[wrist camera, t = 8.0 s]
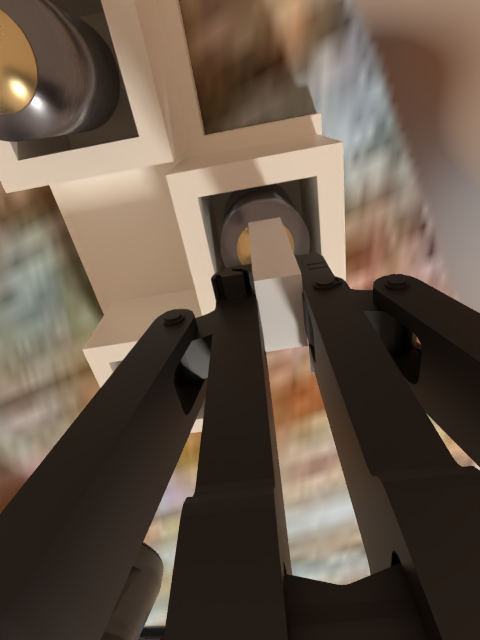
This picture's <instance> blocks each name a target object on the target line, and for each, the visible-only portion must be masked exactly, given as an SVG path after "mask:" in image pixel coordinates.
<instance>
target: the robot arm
mask: <svg viewBox="0 0 480 640" xmlns="http://www.w3.org/2000/svg"><path fill="white" fill-rule="evenodd" d="M248 226H249V238H250V250H251V262H252V264H246V265H240V266H234V267H229V268H227V269H223V270H221V271H219V272H217V273H215V274H214V275H213V276H212V277H211V282H212V287H213V291H214V295H215V300H216V307H215V310H214V311H212V312H210V313H208V314H206V315H203V316H200V317H197V318H195V315H194V313H193V311H191V310H189V309H173V310H171V311H170V310H169V311H167V312H165V313H164V314H162V315H160V316H159V317H157V318H156V319H155V320H154V321H153V323H152V324H151V325H150V327H149V328H148V329H147V330H146V332H145V333H144V334H143V335H142V337H141V338H140V339H139V340H138V342H137V343H136V344H135V345H134V347H133V348H132V349H131V350H130V352H129V353H128V354H127V355H126V357H125V358H124V359H123V360H122V362H121V363H120V364H119V366H118V367H117V368H116V369H115V371H114V372H113V373H112V374H111V376H110V377H109V378H108V379H107V381H106V382H105V383H104V384H103V386H102V387H101V388H100V389H99V391H98V392H97V393H96V394H95V396H94V397H93V398H92V399H91V401H90V402H89V403H88V405H87V406H86V407H85V408H84V410H83V411H82V412H81V413H80V415H79V416H78V417H77V418H76V420H75V421H74V422H73V423H72V425H71V426H70V427H69V428H68V430H67V431H66V432H65V433H64V435H63V436H62V437H61V439H60V440H59V441H58V442H57V444H56V445H55V446H54V447H53V449H52V450H51V451H50V452H49V454H48V455H47V456H46V457H45V459H44V460H43V461H42V462H41V464H40V465H39V466H38V467H37V469H36V470H35V471H34V472H33V474H32V475H31V476H30V478H29V479H28V480H27V481H26V483H25V484H24V485H23V486H22V488H21V489H20V490H19V491H18V493H17V494H16V495H15V496H14V498H13V499H12V500H11V501H10V503H9V504H8V505H7V506H6V508H5V509H4V510H3V511H2V513H1V514H0V640H138V638H139V636H140V634H141V632H142V630H143V627H144V625H145V623H146V621H147V618H148V616H149V614H150V612H151V609H152V607H153V605H154V603H155V600H156V598H157V596H158V594H159V591H160V588H161V582H162V576H163V563H162V561H161V559H160V558H159V557H158V555H157V554H156V553H154V552H153V551H152V550H151V549H149V548H148V547H146V546H144V545H142V543H143V541H144V539H145V536H146V534H147V532H148V529H149V527H150V525H151V522H152V520H153V518H154V515H155V513H156V511H157V508H158V506H159V504H160V502H161V499H162V497H163V495H164V492H165V490H166V488H167V485H168V483H169V481H170V478H171V476H172V474H173V472H174V469H175V467H176V465H177V462H178V460H179V458H180V455H181V453H182V451H183V448H184V446H185V444H186V441H187V439H188V437H189V435H190V432H191V430H192V428H193V425H194V423H195V421H196V418H197V416H198V414H199V411H200V409H201V407H202V404H203V402H204V400H205V407H204V416H203V425H202V434H201V444H200V453H199V462H198V471H197V480H196V488H195V493H194V495H193V497H187V498H186V500H185V502H184V504H183V508H182V513H181V518H180V525H179V533H178V540H177V547H176V554H175V561H174V569H173V576H172V583H171V590H170V598H169V605H168V612H167V619H166V627H165V634H164V635H163V636H162V638H161V639H160V640H480V470H478V469H477V468H475V467H474V466H467V467H462V466H460V465H459V464H457V462H456V461H455V460H454V458H453V457H452V455H451V454H450V452H449V450H448V449H447V447H446V445H445V444H444V442H443V440H442V439H441V437H440V436H439V434H438V432H437V431H436V429H435V427H434V426H433V424H432V422H431V421H430V419H429V417H428V416H427V414H428V415H429V416H430V417H431V418H432V419H433V420H434V421H435V422H436V424H437V425H438V426H439V427H440V428H441V429H442V430H443V431H444V432H445V433H446V434H447V435H448V436H449V437H450V438H451V439H452V440H453V441H454V442H455V443H456V444H457V445H458V446H459V447H460V448H461V449H462V450H463V451H464V452H465V453H466V454H467V455H468V456H469V457H470V458H471V459H472V460H473V461H474V462H475V463H476V464H477V465H478V466H479V467H480V313H478V312H476V311H474V310H473V309H471V308H469V307H467V306H465V305H464V304H462V303H460V302H458V301H456V300H455V299H453V298H451V297H449V296H447V295H446V294H444V293H442V292H440V291H438V290H437V289H435V288H433V287H431V286H429V285H427V284H426V283H424V282H422V281H420V280H418V279H416V278H414V277H411V276H406V275H403V274H397V275H396V274H391V275H388V276H383V277H381V278H378V279H377V280H376V281H375V282H374V284H373V290H354V289H350V288H349V286H348V284H347V283H346V281H345V280H343V279H342V278H339V277H336V276H334V274H333V273H332V271H331V269H330V267H329V266H328V264H327V262H326V260H325V259H324V257H323V256H322V255H320V254H318V253H316V252H314V253H308V254H302V255H296V256H294V253H293V250H292V248H291V245H290V242H289V240H288V237H287V235H286V232H285V229H284V227H283V224H282V221H281V219H280V217H278V218H272V219H266V220H261V221H255V222H249V223H248ZM417 337H418V339H419V341H420V343H421V345H420V344H419V343H417V342H416V340H417ZM307 338H308V341H309V352H310V364H311V372H315V375H316V378H317V382H318V385H319V389H320V392H321V396H322V399H323V403H324V406H325V410H326V414H327V417H328V421H329V424H330V428H331V431H332V435H333V438H334V442H335V445H336V449H337V452H338V456H339V459H340V463H341V466H342V470H343V473H344V477H345V480H346V484H347V488H348V491H349V495H350V498H351V502H352V505H353V509H354V512H355V516H356V519H357V523H358V526H359V530H360V533H361V537H362V540H363V544H364V547H365V551H366V555H367V559H368V563H369V568H370V574H371V575H370V576H368V577H365V578H363V579H361V580H358V581H356V582H353V583H351V584H348V585H336V584H332V583H327V582H322V581H317V580H312V579H307V578H303V577H298V576H293V575H292V569H291V562H290V553H289V545H288V536H287V528H286V519H285V510H284V502H283V493H282V485H281V476H280V468H279V459H278V451H277V442H276V434H275V425H274V417H273V408H272V399H271V391H270V382H269V374H268V365H267V358H266V352H268V351H275V350H282V349H289V348H296V347H304V346H308V342H307ZM425 412H426V413H427V414H426V413H425Z"/></svg>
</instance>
